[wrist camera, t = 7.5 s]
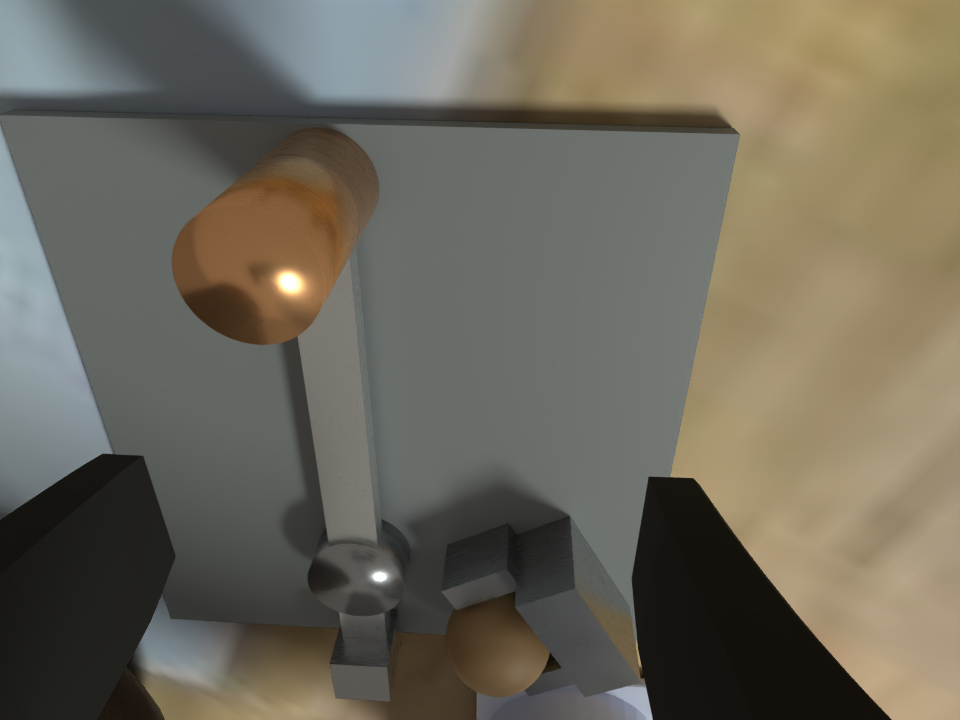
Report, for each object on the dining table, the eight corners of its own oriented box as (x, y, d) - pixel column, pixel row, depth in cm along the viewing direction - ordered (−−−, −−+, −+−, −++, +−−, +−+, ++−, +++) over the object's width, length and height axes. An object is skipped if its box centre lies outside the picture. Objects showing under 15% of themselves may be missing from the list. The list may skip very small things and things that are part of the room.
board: (633, 632, 27) (635, 646, 26) (177, 605, 28) (171, 618, 27) (733, 128, 17) (740, 134, 16) (13, 109, 18) (-3, 115, 17)
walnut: (546, 630, 26) (548, 723, 23) (451, 624, 26) (441, 716, 23) (552, 564, 24) (556, 656, 21) (450, 558, 24) (438, 648, 21)
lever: (416, 644, 27) (391, 796, 22) (335, 639, 27) (293, 790, 22) (383, 129, 17) (325, 208, 12) (252, 126, 17) (144, 202, 12)
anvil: (636, 616, 25) (648, 692, 23) (529, 647, 27) (529, 723, 24) (562, 503, 23) (566, 576, 20) (447, 544, 24) (437, 617, 21)
